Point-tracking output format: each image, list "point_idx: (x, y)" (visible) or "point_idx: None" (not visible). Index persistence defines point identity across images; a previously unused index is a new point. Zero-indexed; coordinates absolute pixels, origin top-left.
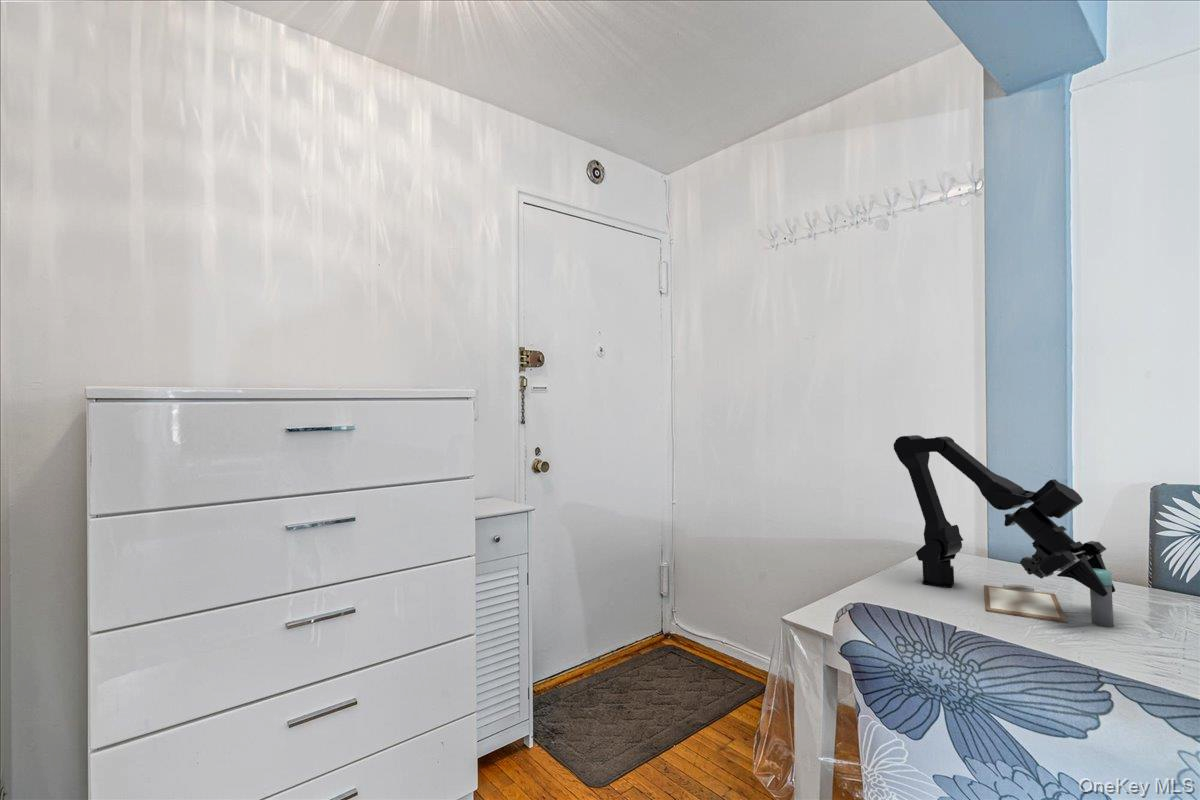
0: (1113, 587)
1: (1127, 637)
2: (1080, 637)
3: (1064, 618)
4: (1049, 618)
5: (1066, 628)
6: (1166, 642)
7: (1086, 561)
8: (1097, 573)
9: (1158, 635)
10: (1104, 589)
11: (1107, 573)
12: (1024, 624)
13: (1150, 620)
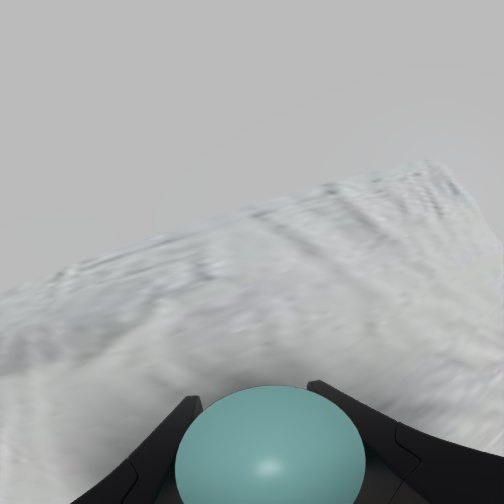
0: (191, 403)
1: (310, 322)
2: (433, 373)
3: None
4: None
5: None
6: (247, 252)
7: (484, 501)
8: (357, 444)
9: (197, 288)
10: (331, 389)
11: (304, 392)
12: None
13: (63, 354)
